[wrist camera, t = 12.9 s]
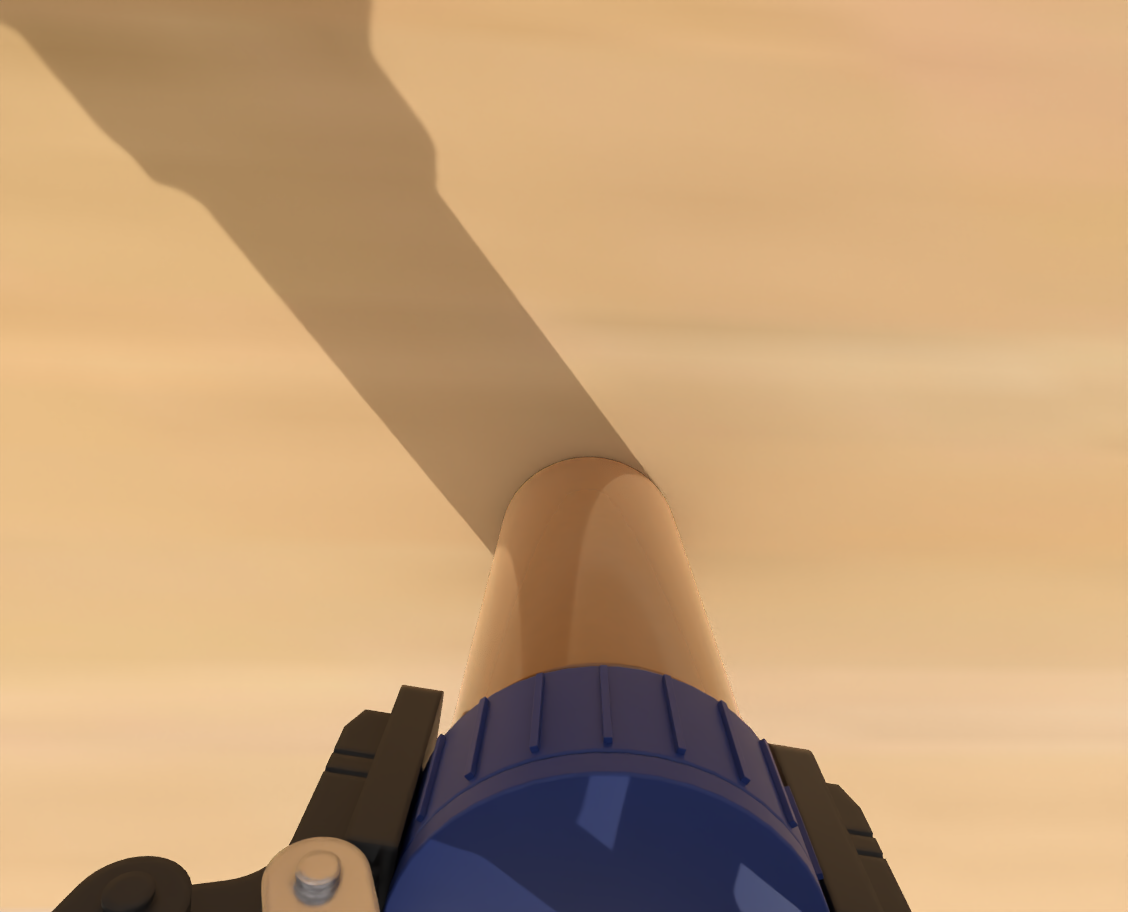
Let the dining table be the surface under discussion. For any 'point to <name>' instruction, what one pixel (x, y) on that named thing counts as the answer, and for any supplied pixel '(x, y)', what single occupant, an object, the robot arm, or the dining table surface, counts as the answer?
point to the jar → (590, 586)
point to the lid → (604, 806)
